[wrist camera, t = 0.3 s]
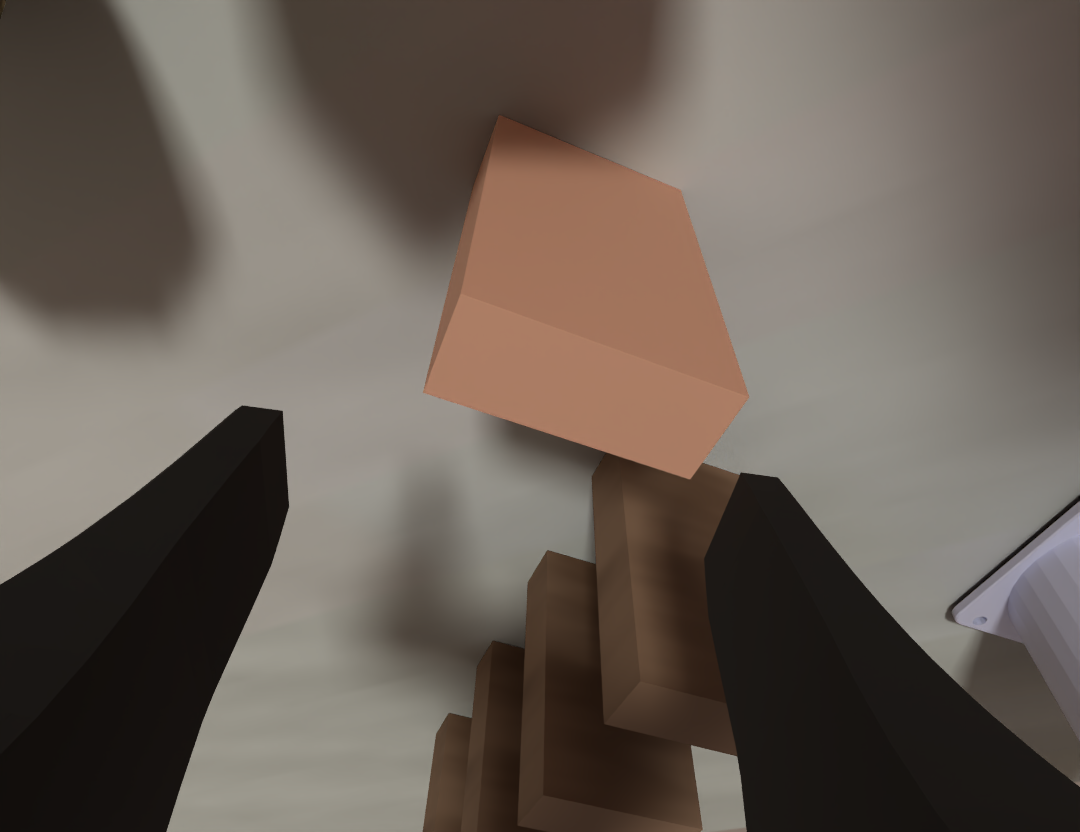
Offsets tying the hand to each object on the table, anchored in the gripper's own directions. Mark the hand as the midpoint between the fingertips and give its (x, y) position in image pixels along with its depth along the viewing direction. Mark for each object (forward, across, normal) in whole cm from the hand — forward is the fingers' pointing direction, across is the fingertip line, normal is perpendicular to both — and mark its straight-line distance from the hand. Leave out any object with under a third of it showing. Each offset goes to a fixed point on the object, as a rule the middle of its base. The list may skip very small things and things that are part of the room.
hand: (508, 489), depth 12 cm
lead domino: (+10, -1, -1) cm, 10 cm away
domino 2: (+10, -6, +8) cm, 14 cm away
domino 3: (+10, -5, +14) cm, 18 cm away
